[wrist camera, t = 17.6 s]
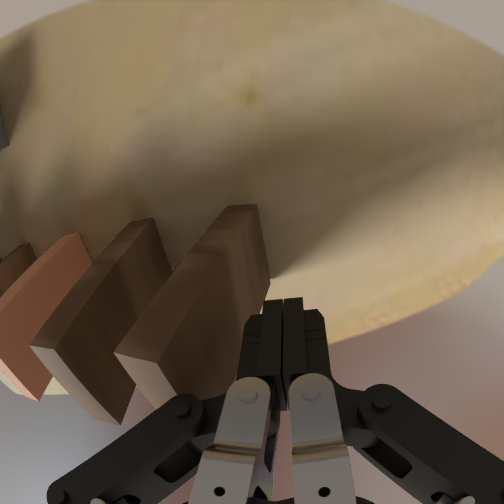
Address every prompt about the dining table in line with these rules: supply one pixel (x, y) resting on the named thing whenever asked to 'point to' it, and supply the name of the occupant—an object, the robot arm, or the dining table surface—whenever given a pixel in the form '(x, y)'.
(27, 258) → the domino
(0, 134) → the dice cube
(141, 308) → the domino
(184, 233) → the dining table surface
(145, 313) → the domino
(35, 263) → the domino
